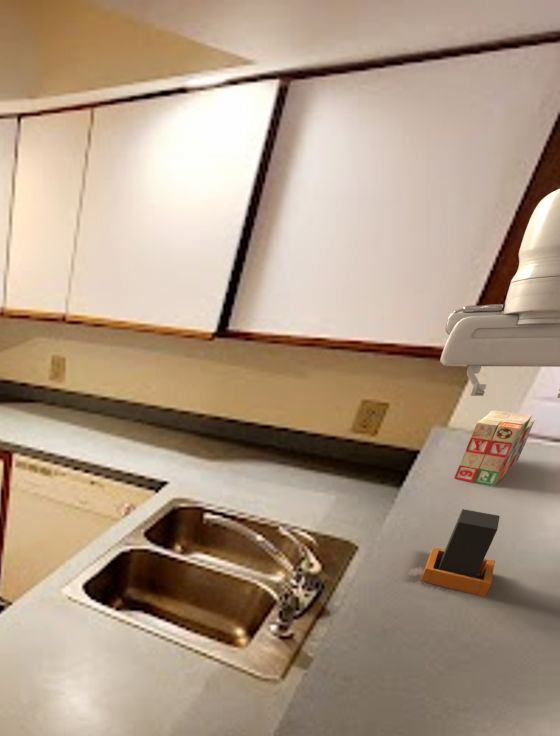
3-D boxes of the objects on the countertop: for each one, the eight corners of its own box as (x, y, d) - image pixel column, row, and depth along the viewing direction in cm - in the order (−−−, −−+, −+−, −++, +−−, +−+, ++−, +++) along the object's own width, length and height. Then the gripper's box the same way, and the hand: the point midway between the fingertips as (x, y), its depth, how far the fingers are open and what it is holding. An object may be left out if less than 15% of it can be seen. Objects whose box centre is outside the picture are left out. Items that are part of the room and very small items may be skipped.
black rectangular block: (472, 575, 94) (499, 515, 90) (469, 591, 90) (497, 529, 86) (437, 567, 97) (462, 508, 92) (433, 582, 93) (458, 521, 89)
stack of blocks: (479, 455, 141) (502, 401, 136) (517, 461, 137) (542, 406, 131) (453, 478, 130) (476, 421, 125) (494, 486, 126) (520, 427, 120)
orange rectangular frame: (490, 580, 95) (500, 559, 93) (484, 610, 88) (495, 587, 86) (421, 564, 100) (429, 544, 98) (411, 591, 93) (420, 569, 92)
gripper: (452, 303, 97) (428, 393, 100) (660, 294, 84) (626, 398, 87) (450, 308, 101) (427, 395, 105) (647, 301, 88) (615, 400, 91)
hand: (519, 397), depth 95 cm, fingers open, 8 cm apart
